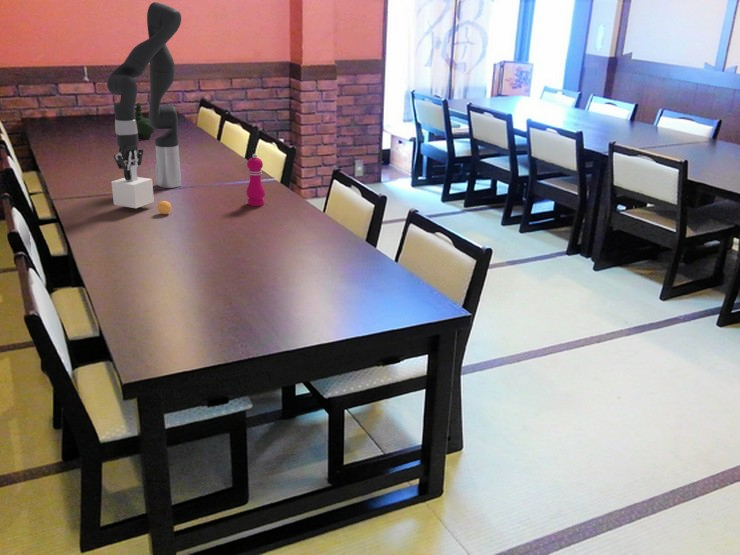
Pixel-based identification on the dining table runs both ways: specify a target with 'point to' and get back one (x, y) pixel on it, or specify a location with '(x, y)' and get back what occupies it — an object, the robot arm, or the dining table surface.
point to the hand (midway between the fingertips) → (131, 178)
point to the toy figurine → (142, 123)
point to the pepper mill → (255, 182)
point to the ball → (164, 207)
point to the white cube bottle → (132, 190)
